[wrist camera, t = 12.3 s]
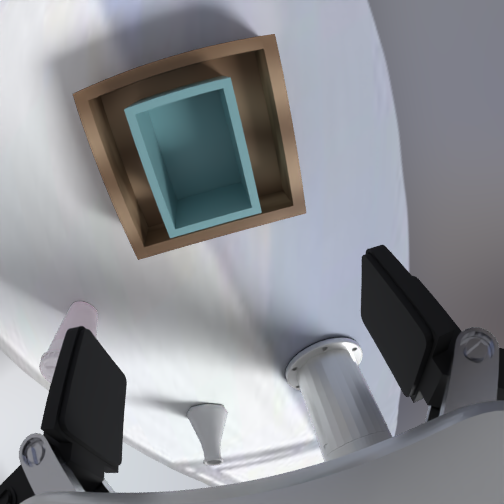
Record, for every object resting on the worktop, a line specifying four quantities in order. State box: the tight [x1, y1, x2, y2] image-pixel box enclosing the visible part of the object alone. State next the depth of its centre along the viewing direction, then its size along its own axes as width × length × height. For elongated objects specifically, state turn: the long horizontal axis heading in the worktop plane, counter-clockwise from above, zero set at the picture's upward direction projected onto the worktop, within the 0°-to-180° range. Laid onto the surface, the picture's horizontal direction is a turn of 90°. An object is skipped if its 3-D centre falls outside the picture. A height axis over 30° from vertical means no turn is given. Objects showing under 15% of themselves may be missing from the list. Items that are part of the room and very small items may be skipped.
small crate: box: [124, 76, 262, 238], centre depth 23 cm, size 10×7×6 cm
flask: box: [187, 404, 228, 466], centre depth 46 cm, size 7×7×10 cm
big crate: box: [73, 34, 306, 260], centre depth 24 cm, size 15×15×4 cm
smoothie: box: [39, 301, 98, 383], centre depth 28 cm, size 6×6×14 cm
